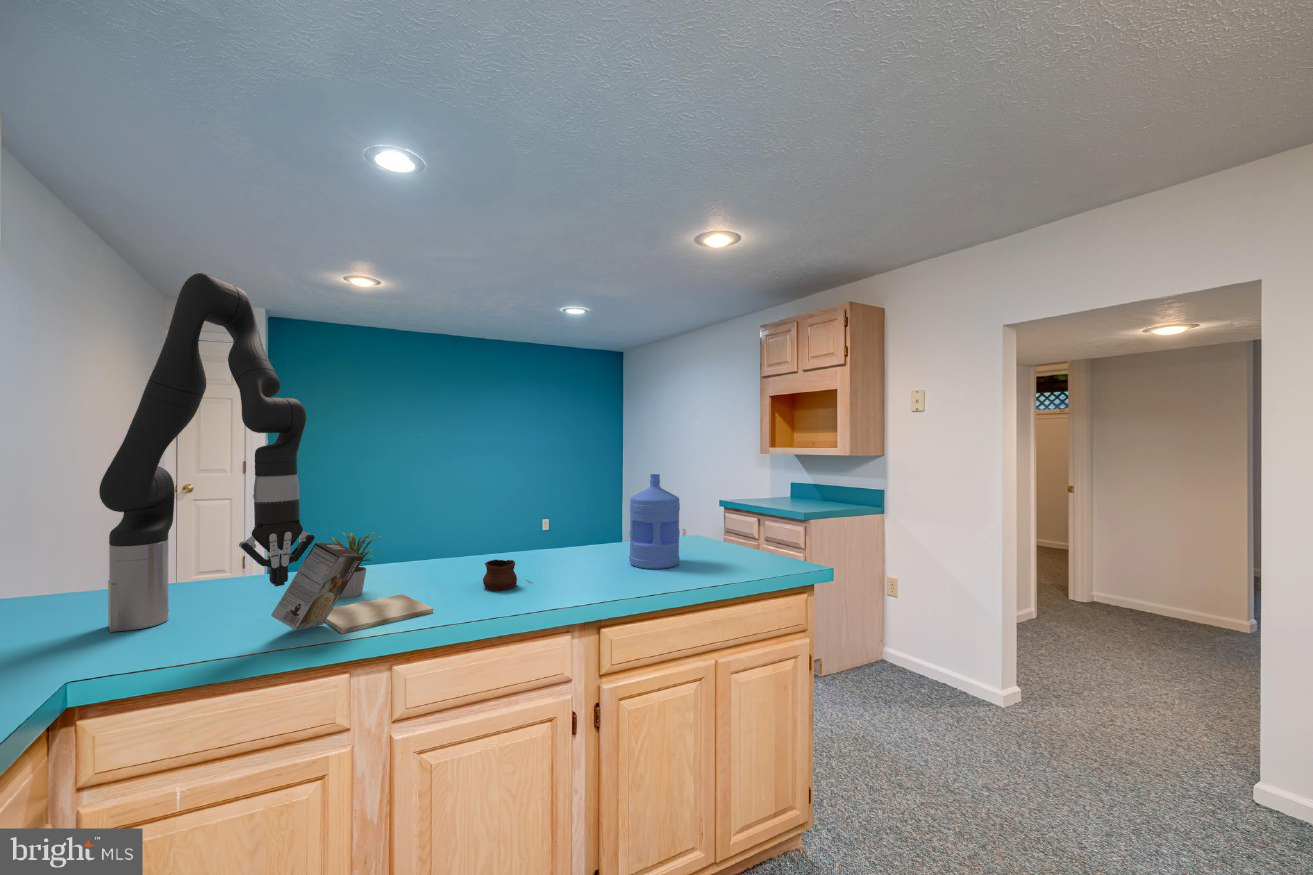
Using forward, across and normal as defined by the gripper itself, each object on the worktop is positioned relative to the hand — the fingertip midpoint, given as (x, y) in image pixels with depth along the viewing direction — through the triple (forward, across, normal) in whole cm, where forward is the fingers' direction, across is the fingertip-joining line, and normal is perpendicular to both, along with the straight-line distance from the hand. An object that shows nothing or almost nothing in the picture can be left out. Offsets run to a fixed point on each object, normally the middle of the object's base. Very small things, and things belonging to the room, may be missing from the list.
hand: (279, 585), depth 114 cm
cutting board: (+10, +18, +1) cm, 21 cm away
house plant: (+10, +21, +21) cm, 32 cm away
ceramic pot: (+12, +50, +2) cm, 51 cm away
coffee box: (+8, +3, 0) cm, 9 cm away
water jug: (+12, +99, -8) cm, 100 cm away
